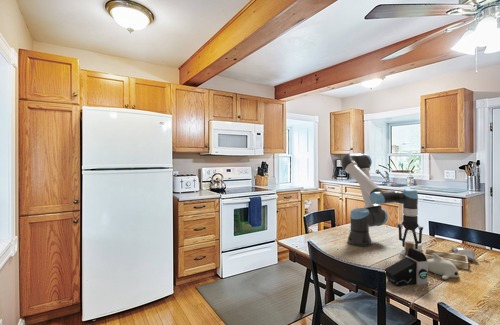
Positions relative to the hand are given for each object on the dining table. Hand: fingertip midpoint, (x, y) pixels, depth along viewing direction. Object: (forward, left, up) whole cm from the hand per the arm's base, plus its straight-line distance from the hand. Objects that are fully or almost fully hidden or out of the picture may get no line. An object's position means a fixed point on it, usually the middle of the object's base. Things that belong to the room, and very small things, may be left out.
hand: (409, 253), depth 155 cm
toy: (+13, -20, -1) cm, 24 cm away
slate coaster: (0, 0, -1) cm, 1 cm away
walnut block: (0, 0, 0) cm, 0 cm away
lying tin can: (+25, +11, -1) cm, 27 cm away
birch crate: (+17, +1, -1) cm, 17 cm away
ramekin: (+1, +12, -1) cm, 12 cm away
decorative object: (+3, -41, -1) cm, 41 cm away
